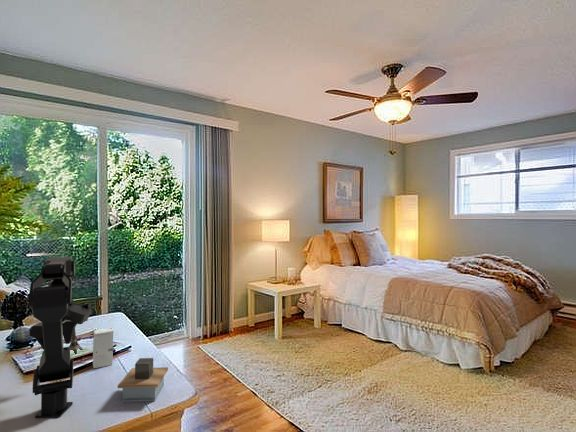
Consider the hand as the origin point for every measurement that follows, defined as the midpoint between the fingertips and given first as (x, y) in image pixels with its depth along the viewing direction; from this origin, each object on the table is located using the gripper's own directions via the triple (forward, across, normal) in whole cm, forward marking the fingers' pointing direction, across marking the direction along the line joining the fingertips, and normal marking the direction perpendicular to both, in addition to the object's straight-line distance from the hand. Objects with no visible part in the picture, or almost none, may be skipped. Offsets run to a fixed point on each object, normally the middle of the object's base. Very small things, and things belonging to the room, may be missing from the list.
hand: (59, 349), depth 106 cm
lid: (+8, -4, -27) cm, 28 cm away
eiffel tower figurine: (+13, +28, +11) cm, 32 cm away
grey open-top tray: (+12, -4, -27) cm, 29 cm away
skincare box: (+12, +17, -5) cm, 22 cm away
